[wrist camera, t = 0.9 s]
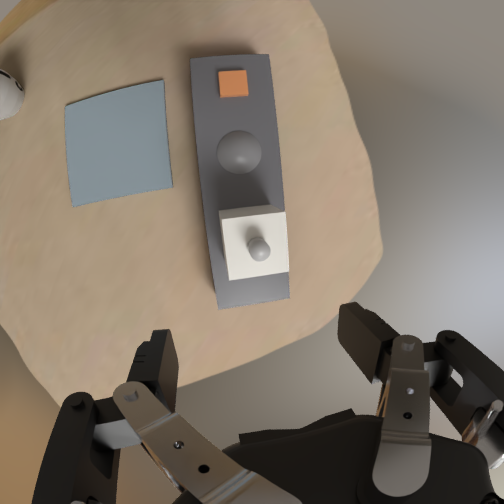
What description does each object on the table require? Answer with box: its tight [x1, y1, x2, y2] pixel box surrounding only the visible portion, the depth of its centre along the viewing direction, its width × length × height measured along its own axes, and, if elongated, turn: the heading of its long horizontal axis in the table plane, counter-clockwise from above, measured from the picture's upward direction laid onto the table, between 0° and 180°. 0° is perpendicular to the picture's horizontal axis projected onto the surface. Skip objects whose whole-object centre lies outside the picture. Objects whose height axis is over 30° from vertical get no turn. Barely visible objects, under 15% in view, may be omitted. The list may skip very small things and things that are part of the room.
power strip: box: [190, 54, 290, 310], centre depth 31 cm, size 30×9×5 cm, turn 5°
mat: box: [65, 80, 173, 207], centre depth 29 cm, size 14×14×1 cm
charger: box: [219, 204, 289, 281], centre depth 28 cm, size 6×6×10 cm
